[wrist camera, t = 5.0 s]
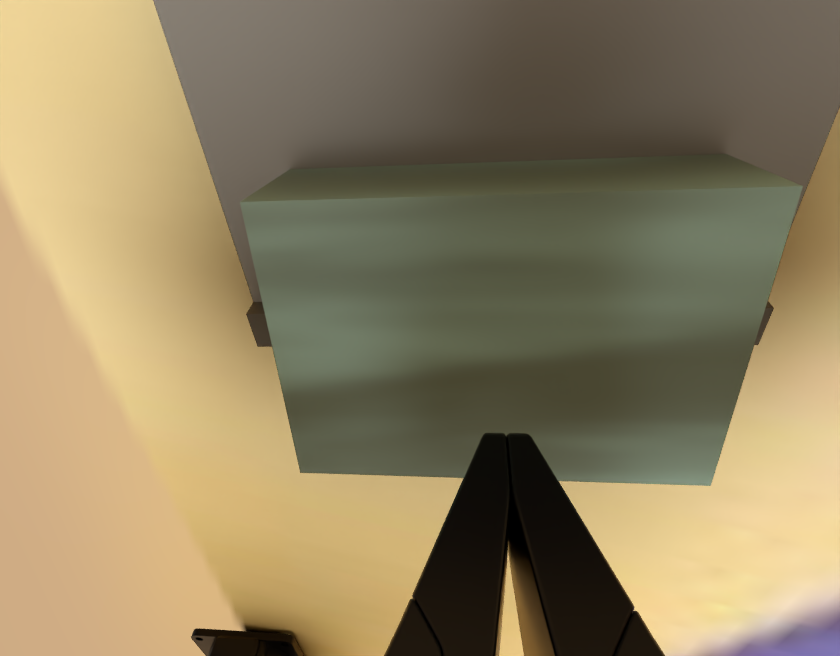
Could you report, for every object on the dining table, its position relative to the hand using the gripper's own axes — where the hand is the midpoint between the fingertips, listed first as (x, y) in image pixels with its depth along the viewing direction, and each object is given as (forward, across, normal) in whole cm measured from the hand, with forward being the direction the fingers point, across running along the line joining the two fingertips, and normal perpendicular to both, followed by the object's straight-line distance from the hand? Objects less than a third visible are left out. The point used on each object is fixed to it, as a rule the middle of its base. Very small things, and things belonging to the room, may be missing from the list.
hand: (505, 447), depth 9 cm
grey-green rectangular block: (+3, 0, +3) cm, 5 cm away
